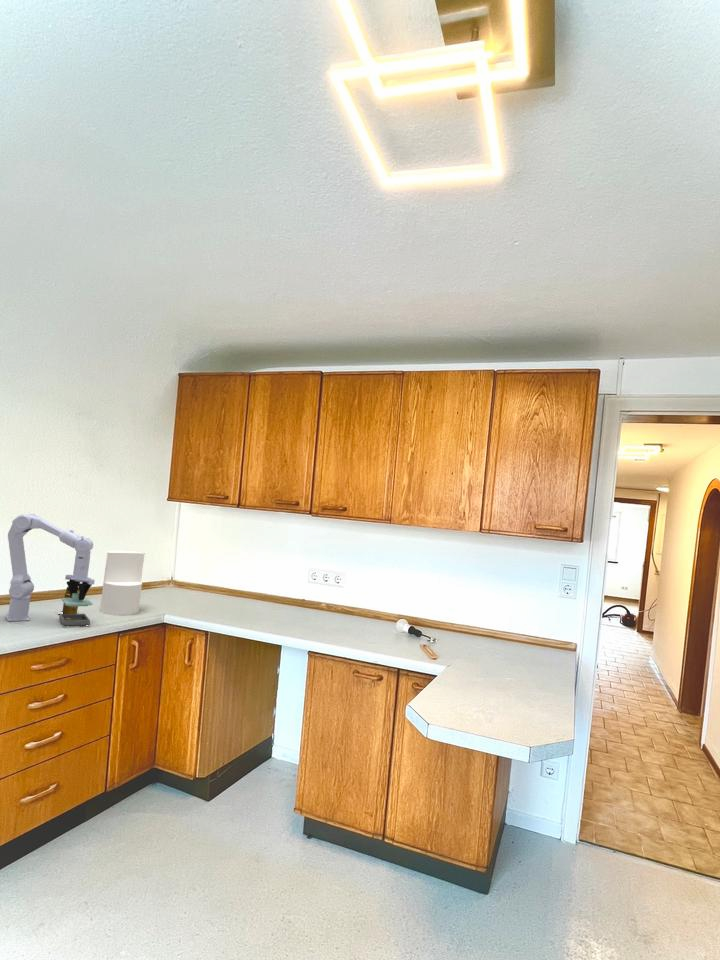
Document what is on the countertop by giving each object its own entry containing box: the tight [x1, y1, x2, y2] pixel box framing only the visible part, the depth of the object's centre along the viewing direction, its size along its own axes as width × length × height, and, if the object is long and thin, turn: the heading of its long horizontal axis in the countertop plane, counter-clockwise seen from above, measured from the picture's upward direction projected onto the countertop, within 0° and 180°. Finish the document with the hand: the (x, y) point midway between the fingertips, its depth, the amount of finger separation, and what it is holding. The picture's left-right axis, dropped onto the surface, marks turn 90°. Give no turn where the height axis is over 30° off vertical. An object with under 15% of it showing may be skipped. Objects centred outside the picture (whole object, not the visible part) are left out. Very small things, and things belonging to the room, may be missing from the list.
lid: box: [61, 593, 93, 607], centre depth 239 cm, size 12×10×4 cm
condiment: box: [61, 586, 79, 614], centre depth 254 cm, size 7×8×12 cm
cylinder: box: [99, 549, 145, 616], centre depth 270 cm, size 17×17×28 cm
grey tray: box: [58, 613, 91, 627], centre depth 239 cm, size 12×10×2 cm
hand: (77, 598), depth 239 cm, fingers closed on lid, 4 cm apart
